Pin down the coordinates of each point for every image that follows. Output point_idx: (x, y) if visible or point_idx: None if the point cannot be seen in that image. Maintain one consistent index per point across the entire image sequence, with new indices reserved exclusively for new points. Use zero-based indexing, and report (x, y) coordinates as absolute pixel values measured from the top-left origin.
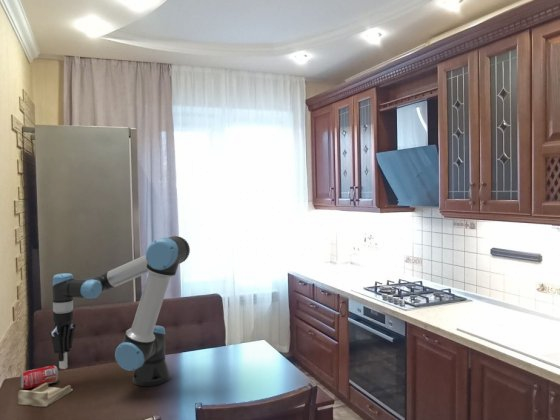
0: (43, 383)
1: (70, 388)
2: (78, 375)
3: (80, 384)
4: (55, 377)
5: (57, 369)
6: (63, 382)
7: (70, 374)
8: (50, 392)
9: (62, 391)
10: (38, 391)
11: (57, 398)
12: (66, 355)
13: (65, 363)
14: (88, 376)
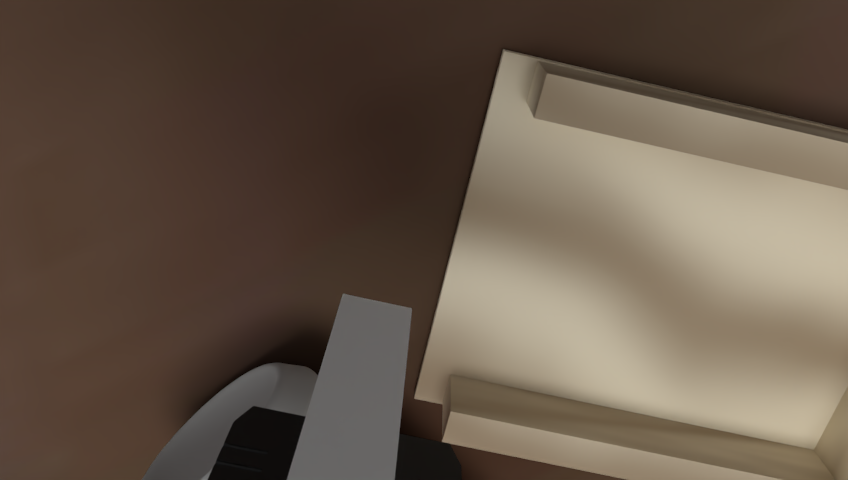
0: None
1: (553, 69)
2: (12, 197)
3: (304, 29)
4: None
5: None
6: (254, 284)
7: (3, 311)
8: (585, 292)
9: (727, 111)
10: (607, 419)
11: (800, 121)
12: (331, 464)
13: (386, 359)
14: (15, 39)
